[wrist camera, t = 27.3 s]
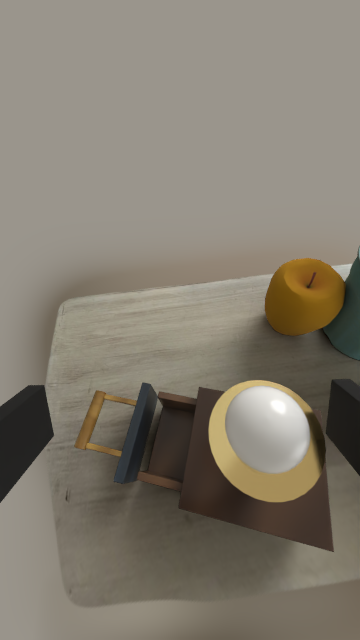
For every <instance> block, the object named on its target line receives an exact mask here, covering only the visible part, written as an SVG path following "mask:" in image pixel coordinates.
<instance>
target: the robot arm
mask: <svg viewBox="0 0 360 640" xmlns="http://www.w3.org/2000/svg"><path fill="white" fill-rule="evenodd" d="M326 434H327V436H328V437H329V438H330V439H331V441H332V442H333V443H334V444H335V446H336V447H337V448H338V449H339V451H340V452H341V453H342V454H343V456H344V457H345V458H346V459H347V461H348V462H349V463H350V464H351V466H352V467H353V468H354V469H355V471H356V472H357V473H358V474H359V476H360V386H359V385H357V384H356V383H354V382H353V381H352V380H350V379H335V380H332V382H331V391H330V400H329V409H328V418H327V427H326ZM53 436H54V433H53V428H52V423H51V418H50V413H49V408H48V403H47V397H46V392H45V387H44V385H34V386H33V385H30V386H27V387H26V388H25V389H23V390H22V391H20V392H19V393H18V394H16V395H15V396H14V397H13V398H11V399H10V400H8V401H7V402H6V403H4V404H3V405H2V406H0V503H1V501H2V500H3V499H4V498H5V496H6V495H7V494H8V493H9V491H10V490H11V489H12V487H13V486H14V485H15V484H16V482H17V481H18V480H19V479H20V477H21V476H22V475H23V474H24V472H25V471H26V470H27V469H28V467H29V466H30V465H31V464H32V462H33V461H34V460H35V459H36V457H37V456H38V455H39V454H40V452H41V451H42V450H43V449H44V447H45V446H46V445H47V444H48V442H49V441H50V440H51V439H52V437H53Z"/></svg>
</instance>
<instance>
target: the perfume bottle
mask: <svg viewBox="0 0 360 640" xmlns="http://www.w3.org/2000/svg"><path fill="white" fill-rule="evenodd" d="M209 442H210V447H211V451H212V454H213V456H214V459H215V461H216V463H217V465H218V467H219V468H220V470H221V471H222V473H223V474H224V476H225V477H226V478H227V479H228V480H229V481H230V482H231V483H232V484H233V485H234V486H235V487H237V488H238V489H239V490H241V491H242V492H243V493H245V494H247V495H249V496H251V497H253V498H255V499H259V500H263V501H267V502H285V501H290V500H294V499H296V498H298V497H300V496H302V495H304V494H305V493H306V492H307V491H309V490H310V489H311V488H312V487H313V486H314V485H315V483H316V482H317V480H318V478H319V477H320V475H321V472H322V469H323V466H324V463H325V454H326V448H325V438H324V435H323V431H322V428H321V425H320V423H319V421H318V419H317V417H316V415H315V414H314V412H313V411H312V410H311V408H310V407H309V405H308V404H307V403H306V402H305V401H304V400H303V399H302V398H301V397H300V396H299V395H297V394H296V393H294V392H293V391H291V390H290V389H288V388H286V387H284V386H282V385H280V384H277V383H274V382H270V381H263V380H253V381H246V382H243V383H239V384H237V385H235V386H233V387H231V388H230V389H229V390H227V391H226V392H225V393H224V394H223V395H222V396H221V397H220V398H219V400H218V401H217V403H216V404H215V406H214V408H213V410H212V414H211V417H210V421H209Z"/></svg>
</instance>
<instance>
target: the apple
mask: <svg viewBox="0 0 360 640" xmlns="http://www.w3.org/2000/svg"><path fill="white" fill-rule="evenodd" d="M345 287H346V283H345V282H344V281H343V279H342V278H341V276H340V275H339V274H338V273H337V272H336V271H335V270H334V269H333V268H332V267H331V266H330V265H328V264H326V263H324V262H322V261H320V260H316V259H310V258H304V259H296V260H292V261H289V262H287V263H285V264H283V265H282V266H281V267H279V269H278V270H277V271H276V272H275V274H274V275H273V277H272V279H271V282H270V285H269V288H268V291H267V294H266V298H265V312H266V316H267V320H268V322H269V323H270V325H271V326H272V327H273V329H274V330H275V331H277V332H279V333H281V334H284V335H292V336H297V335H302V334H306V333H309V332H312V331H315V330H317V329H320V328H323V327H325V326H326V325H328V324H329V323H330V322H331V321H332V320H333V319H334V318H335V317H336V316H337V314H338V313H339V311H340V310H341V308H342V306H343V303H344V297H345Z"/></svg>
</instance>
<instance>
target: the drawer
mask: <svg viewBox="0 0 360 640" xmlns="http://www.w3.org/2000/svg"><path fill="white" fill-rule="evenodd" d="M157 399H159V400H160V402H161V404H162V405H163V408H162V412H161V417H160V421H159V425H158V429H157V433H156V438H155V442H154V446H153V450H152V454H151V458H150V463H149V467H148V471H139V470H140V466H141V462H142V458H143V454H144V450H145V446H146V442H147V438H148V434H149V430H150V427H151V423H152V419H153V415H154V411H155V407H156V403H157ZM104 400H110V401H114V402H119V403H124V404H128V405H133V406H135V410H134V413H133V417H132V420H131V423H130V427H129V430H128V433H127V437H126V440H125V443H124V447H123V450H122V451H119V450H115V449H111V448H107V447H103V446H99V445H95V444H91V443H89V440H90V438H91V435H92V432H93V430H94V427H95V424H96V421H97V419H98V416H99V413H100V410H101V408H102V405H103V402H104ZM196 402H197V399H194V398H189V397H184V396H179V395H174V394H169V393H164V392H159V394H158V396H157V394H156V392H155V391H154V389H153V387H152V386H151V384H148V383H142V386H141V390H140V393H139V396H138V400H137V401H135V400H130V399H126V398H121V397H116V396H111V395H107V394H106V393H105V392H102V391H96V392H95V394H94V397H93V400H92V402H91V405H90V407H89V410H88V412H87V415H86V417H85V420H84V422H83V425H82V428H81V430H80V433H79V435H78V438H77V440H76V443H75V445H74V447H75V448H79V449H83V450H86V449H91V450H95V451H99V452H103V453H107V454H111V455H115V456H119V457H120V460H119V464H118V467H117V470H116V474H115V477H114V482H117V483H121V484H125V483H129V482H133V481H137V480H140V481H144V482H147V483H151V484H155V485H158V486H162V487H166V488H169V489H173V490H177V491H181V490H182V485H183V479H184V473H185V467H186V461H187V455H188V449H189V443H190V438H191V432H192V426H193V420H194V414H195V408H196Z"/></svg>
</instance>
